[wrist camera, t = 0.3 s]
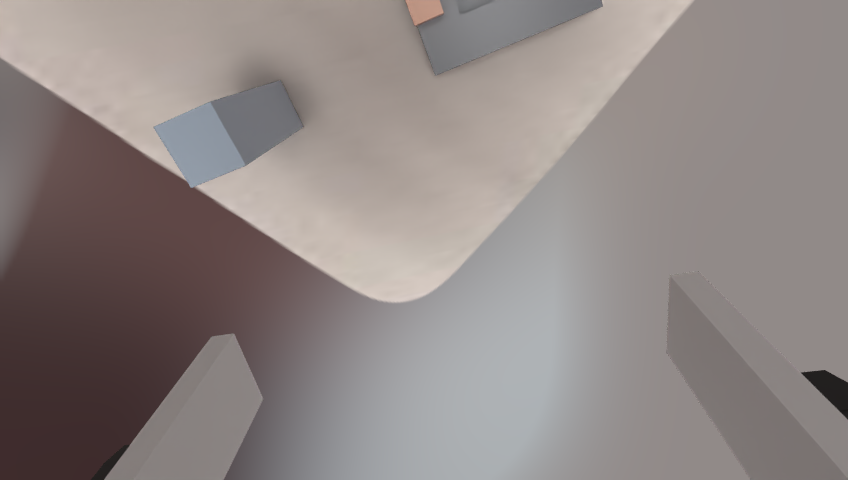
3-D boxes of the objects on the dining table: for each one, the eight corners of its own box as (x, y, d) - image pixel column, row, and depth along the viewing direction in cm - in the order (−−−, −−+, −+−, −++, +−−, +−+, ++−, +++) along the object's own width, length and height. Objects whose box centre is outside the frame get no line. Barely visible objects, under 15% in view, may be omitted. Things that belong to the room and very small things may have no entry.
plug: (238, 98, 38) (153, 127, 27) (280, 80, 37) (210, 101, 26) (262, 143, 39) (191, 187, 28) (303, 126, 38) (245, 165, 28)
